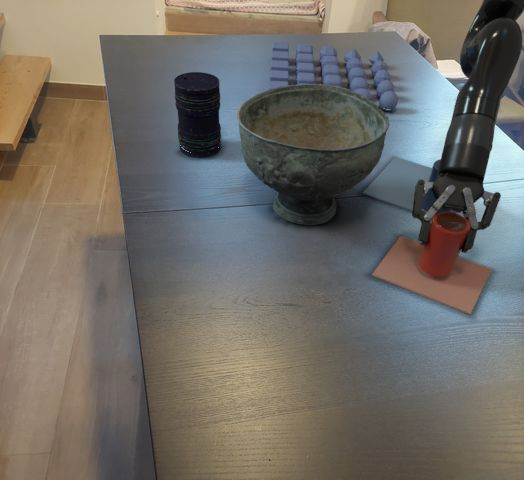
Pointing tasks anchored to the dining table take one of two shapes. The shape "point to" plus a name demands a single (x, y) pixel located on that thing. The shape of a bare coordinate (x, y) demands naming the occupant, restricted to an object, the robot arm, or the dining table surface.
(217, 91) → the storage jar
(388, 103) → the blocks
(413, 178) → the blue mat
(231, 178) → the dining table surface
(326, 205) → the decorative bowl
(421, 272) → the rose mat
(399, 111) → the dining table surface
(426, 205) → the blue pot
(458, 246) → the red pot
